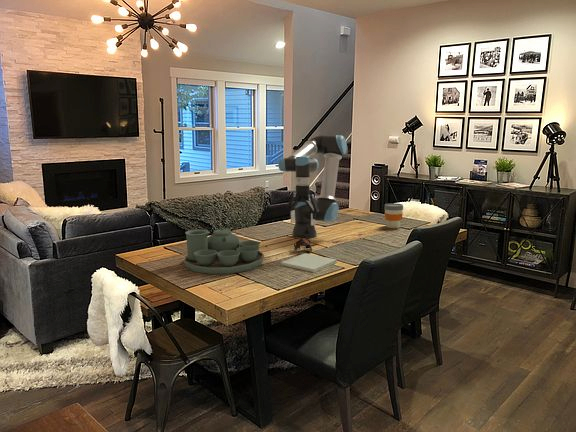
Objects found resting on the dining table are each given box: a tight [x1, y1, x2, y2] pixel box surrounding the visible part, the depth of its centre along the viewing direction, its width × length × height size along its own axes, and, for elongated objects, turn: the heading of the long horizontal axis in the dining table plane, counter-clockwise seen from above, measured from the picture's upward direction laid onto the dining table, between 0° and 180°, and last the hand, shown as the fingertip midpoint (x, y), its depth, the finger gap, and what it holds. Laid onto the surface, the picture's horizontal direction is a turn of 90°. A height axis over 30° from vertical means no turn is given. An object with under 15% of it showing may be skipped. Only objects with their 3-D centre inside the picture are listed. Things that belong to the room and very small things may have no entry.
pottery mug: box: [293, 238, 313, 254], centre depth 255 cm, size 12×10×8 cm
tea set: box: [183, 227, 265, 275], centre depth 234 cm, size 40×40×16 cm
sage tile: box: [280, 253, 338, 273], centre depth 231 cm, size 20×20×2 cm
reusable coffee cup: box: [383, 202, 404, 229], centre depth 313 cm, size 13×13×15 cm
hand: (302, 223), depth 252 cm, fingers open, 13 cm apart
